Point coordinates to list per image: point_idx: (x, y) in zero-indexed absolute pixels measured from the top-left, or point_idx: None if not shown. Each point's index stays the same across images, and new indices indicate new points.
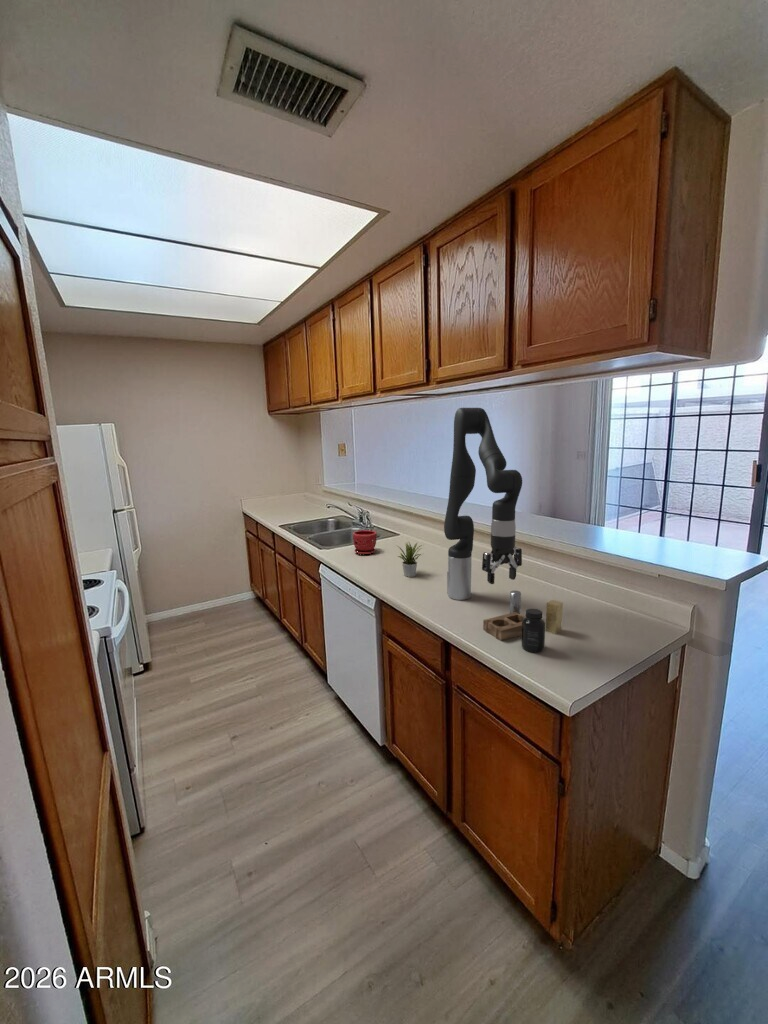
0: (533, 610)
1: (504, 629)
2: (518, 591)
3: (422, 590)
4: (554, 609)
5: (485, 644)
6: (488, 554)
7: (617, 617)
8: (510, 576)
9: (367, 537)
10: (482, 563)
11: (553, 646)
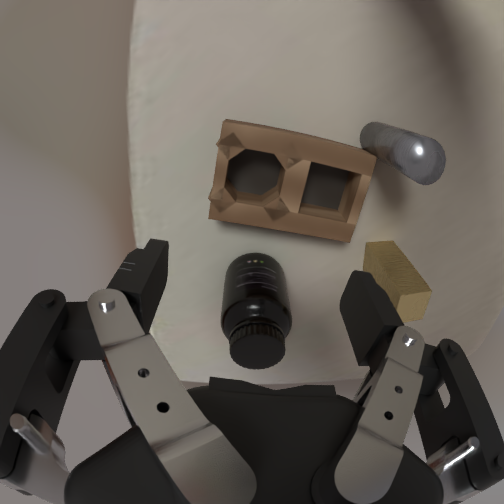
0: (262, 349)
1: (225, 218)
2: (442, 164)
3: None
4: None
5: (160, 193)
6: (12, 485)
7: (491, 291)
8: (354, 288)
9: None
10: (7, 341)
11: (300, 297)
